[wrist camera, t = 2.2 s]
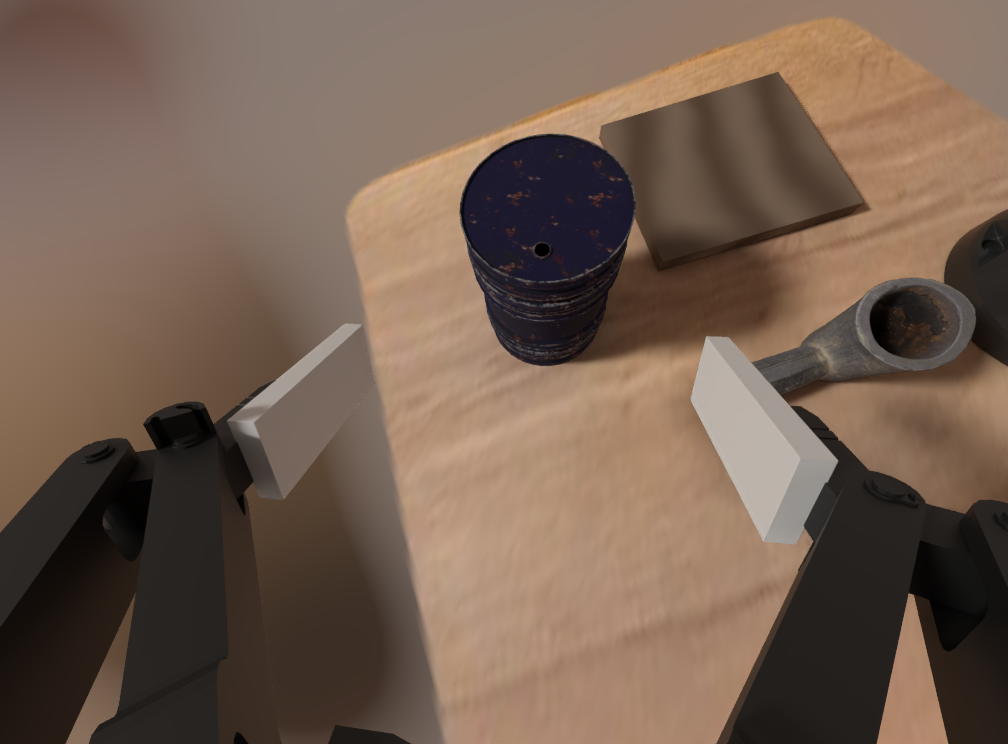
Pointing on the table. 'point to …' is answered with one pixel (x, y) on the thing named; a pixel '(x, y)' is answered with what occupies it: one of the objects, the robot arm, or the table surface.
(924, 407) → the table surface
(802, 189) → the walnut serving board
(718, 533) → the table surface
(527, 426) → the table surface
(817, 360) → the pipe
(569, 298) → the navy cylinder
